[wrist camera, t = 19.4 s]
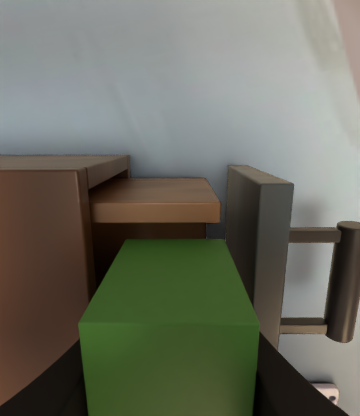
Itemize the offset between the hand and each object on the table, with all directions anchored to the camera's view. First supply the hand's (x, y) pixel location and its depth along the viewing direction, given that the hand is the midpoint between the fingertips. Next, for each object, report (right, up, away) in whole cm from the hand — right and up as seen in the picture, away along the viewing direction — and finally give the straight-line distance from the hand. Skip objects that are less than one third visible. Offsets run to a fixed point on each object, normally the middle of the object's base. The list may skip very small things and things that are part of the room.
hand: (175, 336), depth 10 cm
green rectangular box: (0, 0, +1) cm, 1 cm away
